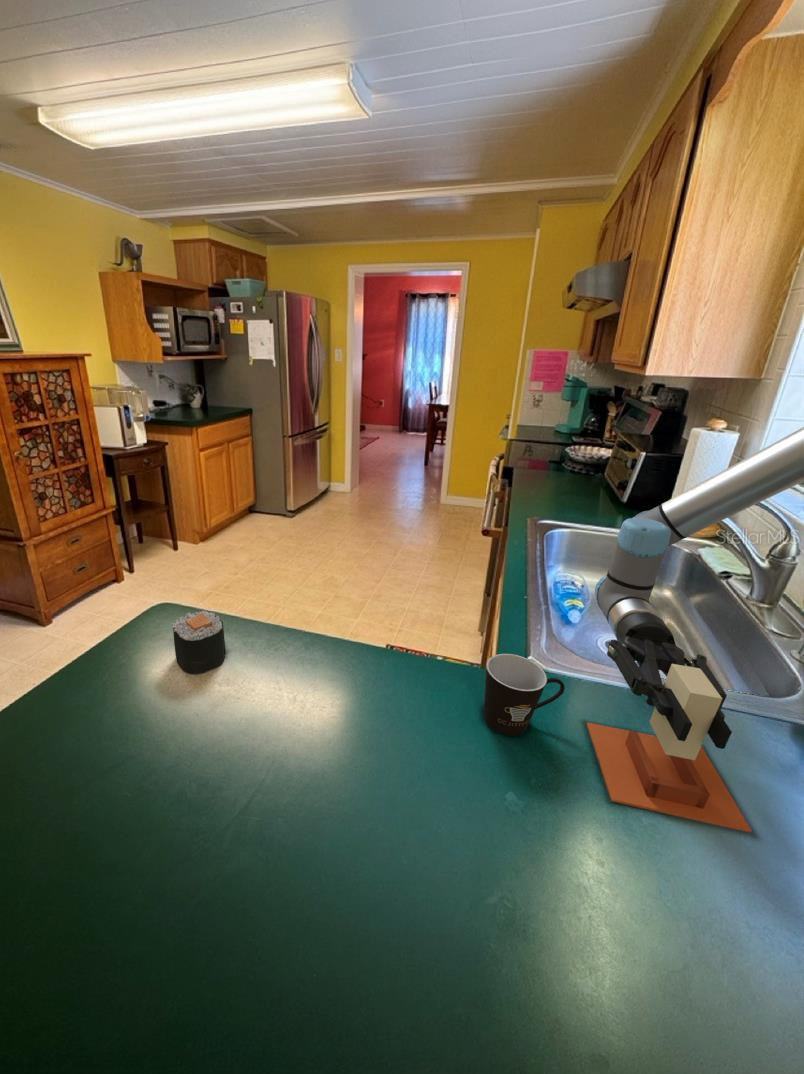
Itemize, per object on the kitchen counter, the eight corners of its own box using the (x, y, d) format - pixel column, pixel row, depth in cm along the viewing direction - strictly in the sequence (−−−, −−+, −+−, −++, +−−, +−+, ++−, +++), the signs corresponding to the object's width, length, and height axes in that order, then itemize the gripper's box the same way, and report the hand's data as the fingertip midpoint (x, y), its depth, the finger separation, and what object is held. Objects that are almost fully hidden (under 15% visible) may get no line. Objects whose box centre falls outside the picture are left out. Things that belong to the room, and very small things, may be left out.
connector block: (676, 726, 66) (700, 668, 62) (695, 760, 60) (722, 698, 57) (649, 721, 66) (671, 663, 63) (665, 754, 61) (690, 692, 57)
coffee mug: (471, 733, 71) (482, 679, 68) (480, 698, 79) (490, 648, 75) (553, 760, 67) (569, 705, 64) (554, 720, 75) (569, 669, 71)
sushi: (210, 640, 89) (207, 603, 86) (232, 661, 84) (231, 623, 81) (168, 656, 84) (164, 617, 81) (189, 680, 79) (186, 639, 76)
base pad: (698, 750, 71) (706, 731, 69) (748, 837, 58) (760, 816, 57) (585, 728, 74) (590, 709, 72) (609, 806, 61) (617, 785, 60)
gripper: (688, 659, 77) (771, 775, 56) (581, 641, 80) (621, 744, 59) (703, 620, 75) (797, 726, 53) (592, 602, 78) (638, 697, 56)
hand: (704, 735), depth 56 cm, fingers closed on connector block, 3 cm apart
